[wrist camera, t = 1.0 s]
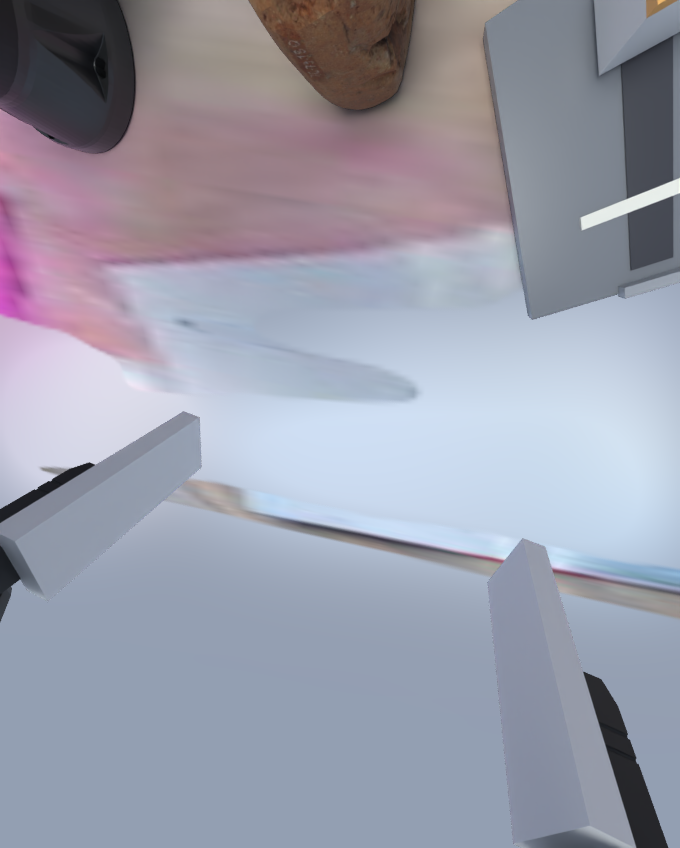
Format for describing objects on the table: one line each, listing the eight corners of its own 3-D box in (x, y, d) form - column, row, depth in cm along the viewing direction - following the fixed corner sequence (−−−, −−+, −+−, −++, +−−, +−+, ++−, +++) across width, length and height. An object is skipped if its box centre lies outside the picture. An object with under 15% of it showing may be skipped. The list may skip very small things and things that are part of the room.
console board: (483, 39, 23) (487, 7, 20) (830, -194, 16) (919, -299, 13) (528, 317, 30) (536, 325, 27) (782, 240, 23) (832, 239, 20)
